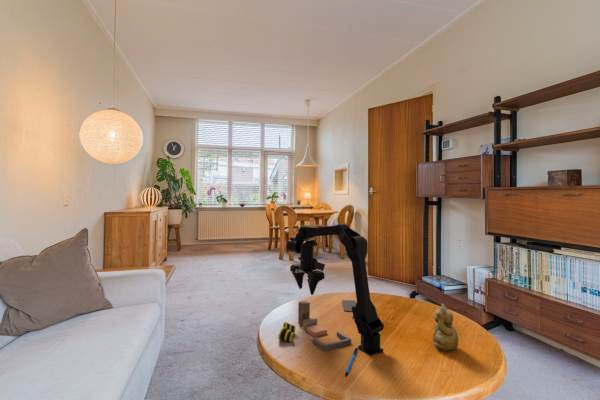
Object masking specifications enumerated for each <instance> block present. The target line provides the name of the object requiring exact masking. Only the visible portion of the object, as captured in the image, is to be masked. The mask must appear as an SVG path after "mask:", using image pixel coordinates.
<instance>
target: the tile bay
mask: <svg viewBox="0 0 600 400" xmlns="http://www.w3.org/2000/svg"><path fill="white" fill-rule="evenodd" d="M336 337H337V338H339V339H341V340H338V341H334V342H331V343H327V344H325V343H323V342H322V341H320V340H319V339H317V338H316V337H313V338H312V343H313V344H314V345H316V346H317V347H318V348H320V349H321V350H322V351H324V352H325V351H330V350H332V349H335V348H339V347H343V346H347V345H350V344H352V339H351V338H350V337H348V336H347V335H345V334H344V333H342V332H341V331H336Z"/></svg>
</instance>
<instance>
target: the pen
mask: <svg viewBox="0 0 600 400" xmlns="http://www.w3.org/2000/svg"><path fill="white" fill-rule="evenodd" d="M358 349H359V348H358V347H355V349H354V351H353V353H352V356H351V358H350V361H349V364H348V366H347V368H346V371H345V373H344V374H345V378H347V376H348V375H349V373H350V370H351V368H352V366H353V363H354V360H355V357H356V355H357V354H358Z"/></svg>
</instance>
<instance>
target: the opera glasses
mask: <svg viewBox="0 0 600 400" xmlns="http://www.w3.org/2000/svg"><path fill="white" fill-rule="evenodd" d="M295 332H296V325H294V324H292V323H288V322H287V321H284V323H283V326H282V327H281V329H280V330H279V334H278V341H280V342H281V341H284V342H288V343H291V342H292V341H293V340H294V336H295V334H296V333H295Z"/></svg>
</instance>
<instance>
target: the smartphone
mask: <svg viewBox="0 0 600 400" xmlns="http://www.w3.org/2000/svg"><path fill="white" fill-rule="evenodd" d="M341 303H342V306H343V307H342V309H343V312H345V313H346V312H348V313H353V312H352V307H353V306H355V305H356V303H357V301H356V300H348V299H342V300H341Z"/></svg>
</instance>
